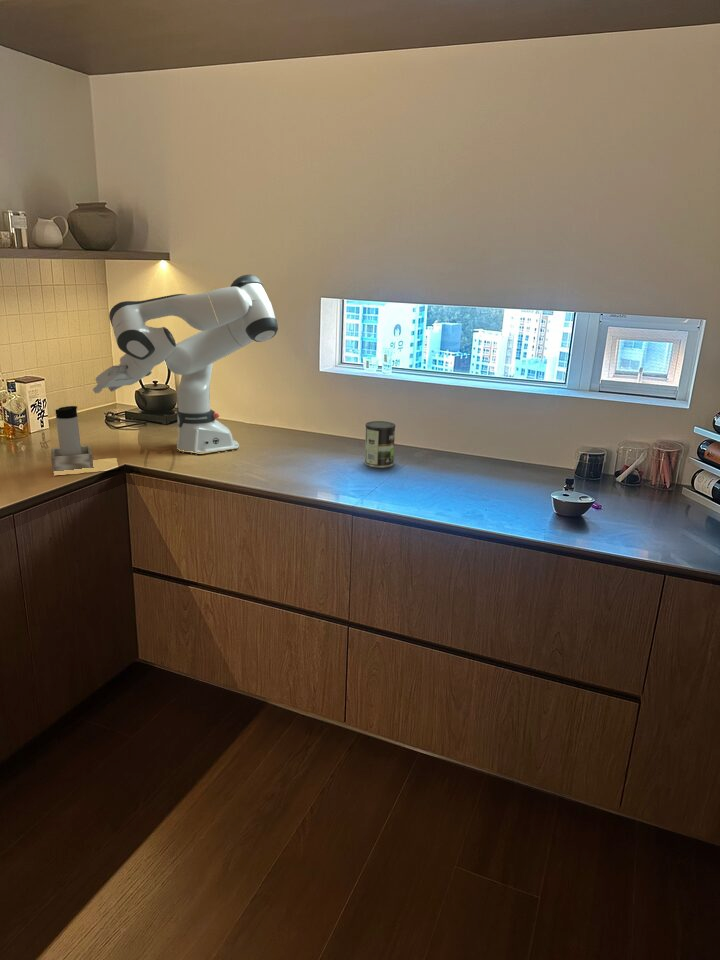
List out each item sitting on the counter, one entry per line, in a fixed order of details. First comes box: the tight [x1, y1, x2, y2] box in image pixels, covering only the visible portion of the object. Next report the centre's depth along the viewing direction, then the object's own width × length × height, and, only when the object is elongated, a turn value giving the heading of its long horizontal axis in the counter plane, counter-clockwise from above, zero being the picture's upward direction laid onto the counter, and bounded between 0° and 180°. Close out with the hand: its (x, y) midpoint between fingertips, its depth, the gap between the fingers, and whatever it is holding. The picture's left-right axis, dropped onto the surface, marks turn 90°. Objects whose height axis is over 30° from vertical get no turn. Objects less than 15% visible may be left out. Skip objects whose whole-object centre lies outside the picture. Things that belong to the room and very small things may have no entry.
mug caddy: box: [50, 445, 94, 473], centre depth 220 cm, size 20×12×6 cm, turn 114°
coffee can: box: [364, 420, 396, 469], centre depth 233 cm, size 10×10×14 cm
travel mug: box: [55, 405, 82, 456], centre depth 215 cm, size 6×7×20 cm
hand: (103, 390), depth 218 cm, fingers open, 8 cm apart
